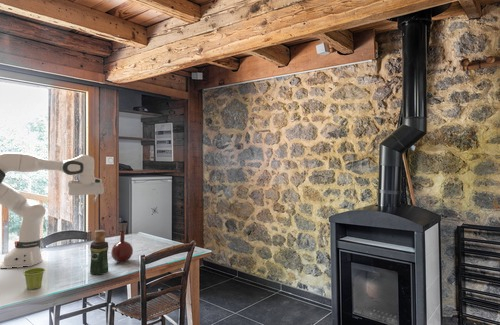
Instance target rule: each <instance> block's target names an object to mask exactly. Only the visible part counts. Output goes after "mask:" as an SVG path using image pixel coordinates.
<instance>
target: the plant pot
mask: <svg viewBox="0 0 500 325" xmlns="http://www.w3.org/2000/svg"><path fill="white" fill-rule="evenodd" d="M45 271H46V268H43V267H34V268H29V269H26V270H24V271H23V275H24V277H25V282H26V283H25V284H26V289H28V290H35V289H39V288H42V282H43V278H44V274H45Z"/></svg>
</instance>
